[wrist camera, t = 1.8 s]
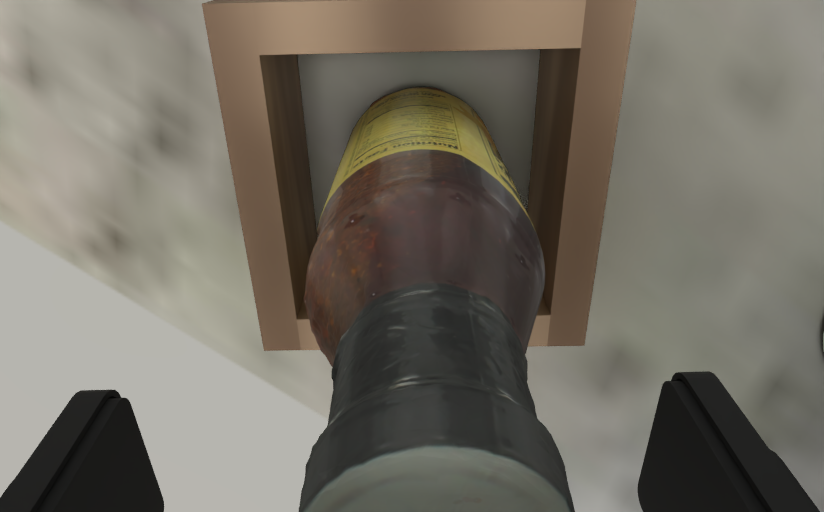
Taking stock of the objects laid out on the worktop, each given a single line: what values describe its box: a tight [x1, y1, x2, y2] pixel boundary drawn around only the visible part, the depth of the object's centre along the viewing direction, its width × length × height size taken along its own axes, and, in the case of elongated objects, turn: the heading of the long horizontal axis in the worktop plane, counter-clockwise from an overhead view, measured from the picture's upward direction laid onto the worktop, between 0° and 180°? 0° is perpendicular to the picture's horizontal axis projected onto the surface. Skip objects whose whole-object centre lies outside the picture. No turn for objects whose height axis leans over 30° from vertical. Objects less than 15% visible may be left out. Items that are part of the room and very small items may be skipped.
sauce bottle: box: [299, 87, 575, 512], centre depth 17 cm, size 7×6×20 cm
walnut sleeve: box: [202, 0, 636, 351], centre depth 23 cm, size 13×13×6 cm
